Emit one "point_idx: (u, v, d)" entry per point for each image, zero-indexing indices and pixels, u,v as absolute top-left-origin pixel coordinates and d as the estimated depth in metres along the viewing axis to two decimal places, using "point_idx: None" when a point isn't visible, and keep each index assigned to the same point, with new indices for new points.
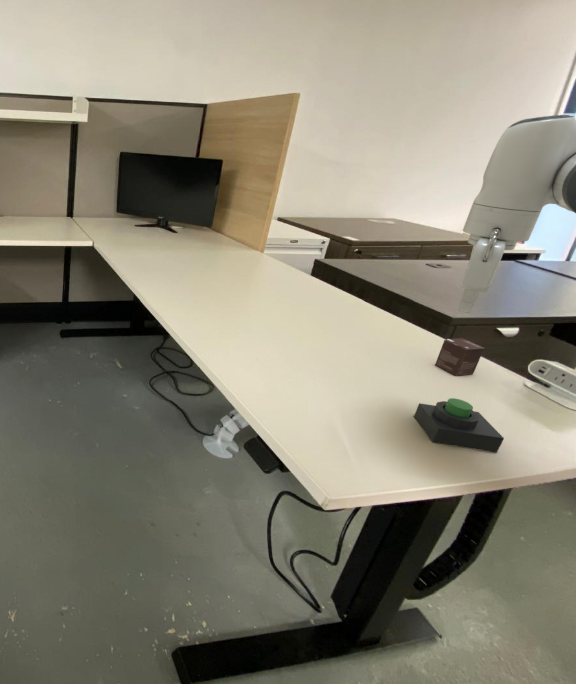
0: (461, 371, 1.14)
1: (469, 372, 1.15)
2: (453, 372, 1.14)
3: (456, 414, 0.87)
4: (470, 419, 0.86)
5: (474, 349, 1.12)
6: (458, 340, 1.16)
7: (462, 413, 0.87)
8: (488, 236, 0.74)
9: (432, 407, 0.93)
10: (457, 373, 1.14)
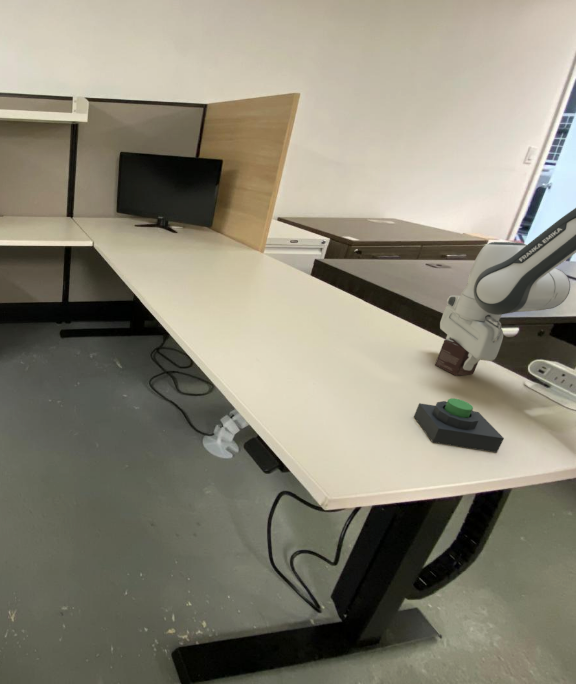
0: (461, 371, 1.14)
1: (469, 372, 1.15)
2: (453, 372, 1.14)
3: (456, 414, 0.87)
4: (470, 419, 0.86)
5: None
6: None
7: (462, 413, 0.87)
8: (483, 320, 1.07)
9: (432, 407, 0.93)
10: (457, 373, 1.14)
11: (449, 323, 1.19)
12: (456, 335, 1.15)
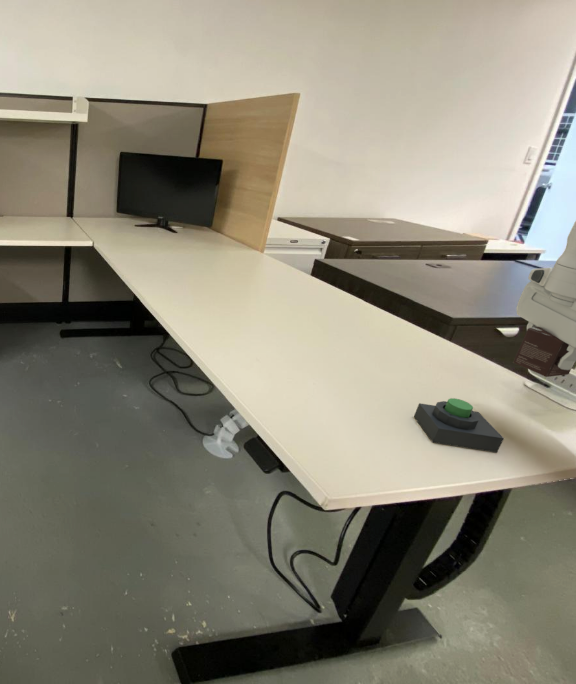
0: (554, 371, 0.83)
1: (564, 372, 0.84)
2: (542, 372, 0.83)
3: (456, 414, 0.87)
4: (470, 419, 0.86)
5: None
6: None
7: (462, 413, 0.87)
8: None
9: (432, 407, 0.93)
10: (548, 374, 0.83)
11: (532, 306, 0.88)
12: (545, 322, 0.84)
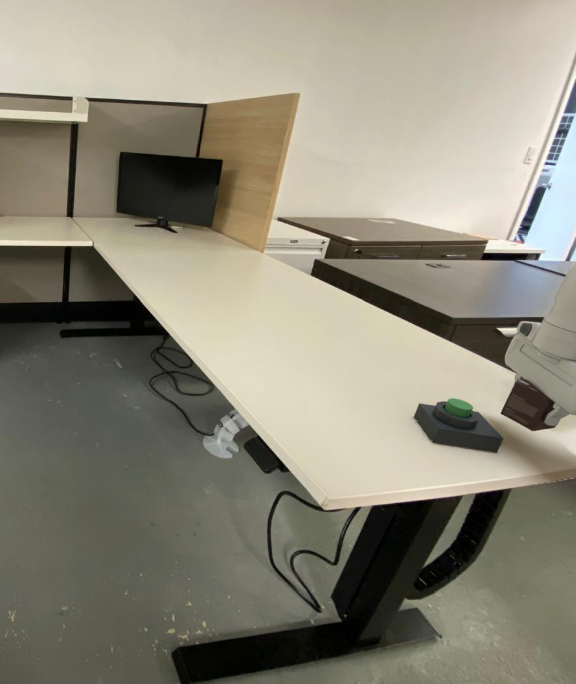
0: (540, 426, 0.83)
1: (550, 426, 0.84)
2: (528, 426, 0.84)
3: (456, 414, 0.87)
4: (470, 419, 0.86)
5: None
6: None
7: (462, 413, 0.87)
8: None
9: (432, 407, 0.93)
10: (534, 428, 0.83)
11: (520, 358, 0.88)
12: (533, 376, 0.84)
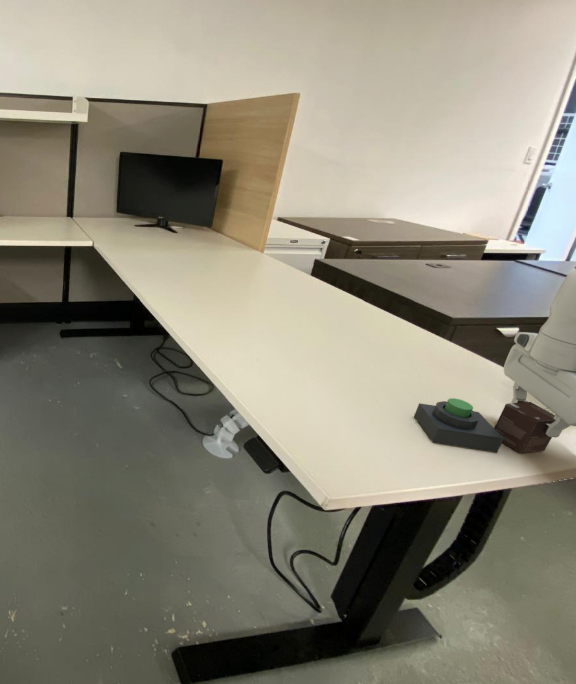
0: (528, 448, 0.85)
1: (539, 449, 0.86)
2: (517, 448, 0.86)
3: (456, 414, 0.87)
4: (470, 419, 0.86)
5: (548, 421, 0.83)
6: (524, 406, 0.87)
7: (462, 413, 0.87)
8: (575, 370, 0.77)
9: (432, 407, 0.93)
10: (522, 450, 0.85)
11: (519, 369, 0.89)
12: (532, 387, 0.85)
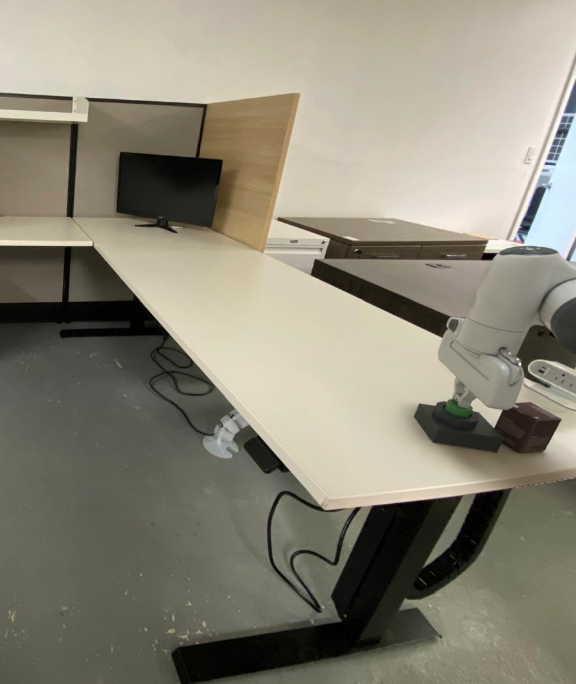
0: (528, 448, 0.85)
1: (539, 449, 0.86)
2: (516, 448, 0.86)
3: (456, 415, 0.87)
4: (470, 419, 0.86)
5: (547, 420, 0.83)
6: (524, 406, 0.87)
7: (462, 414, 0.87)
8: (495, 354, 0.79)
9: (432, 407, 0.93)
10: (522, 450, 0.85)
11: (449, 353, 0.90)
12: (459, 371, 0.87)
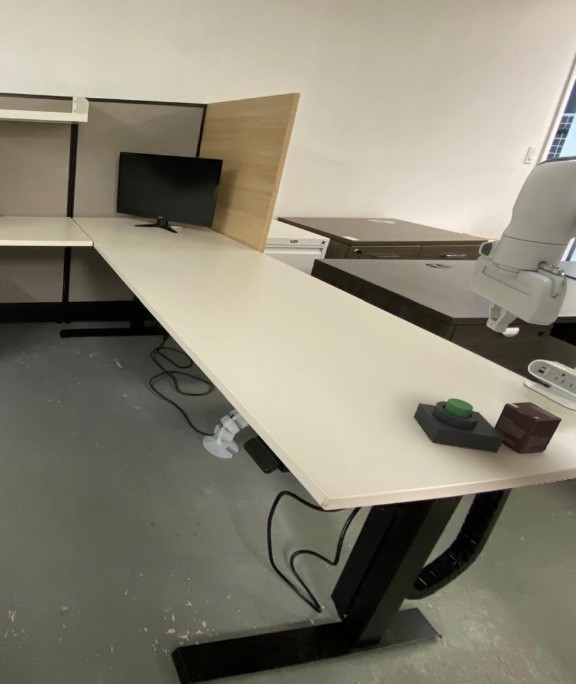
0: (528, 448, 0.85)
1: (539, 449, 0.86)
2: (516, 448, 0.86)
3: (456, 414, 0.87)
4: (470, 419, 0.86)
5: (547, 420, 0.83)
6: (524, 406, 0.87)
7: (462, 413, 0.87)
8: (535, 269, 0.77)
9: (432, 407, 0.93)
10: (522, 450, 0.85)
11: (482, 280, 0.88)
12: (494, 294, 0.84)
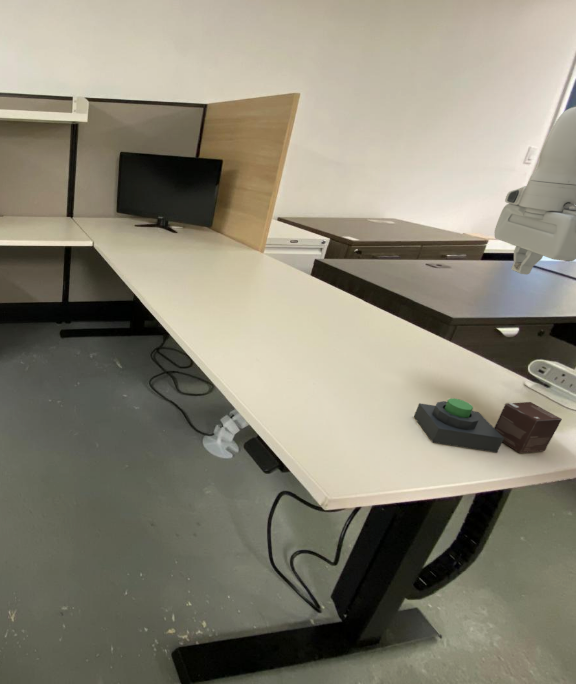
0: (528, 448, 0.85)
1: (539, 449, 0.86)
2: (516, 448, 0.86)
3: (456, 414, 0.87)
4: (470, 419, 0.86)
5: (547, 420, 0.83)
6: (524, 406, 0.87)
7: (462, 413, 0.87)
8: (560, 210, 0.82)
9: (432, 407, 0.93)
10: (522, 450, 0.85)
11: (508, 227, 0.94)
12: (520, 238, 0.90)
